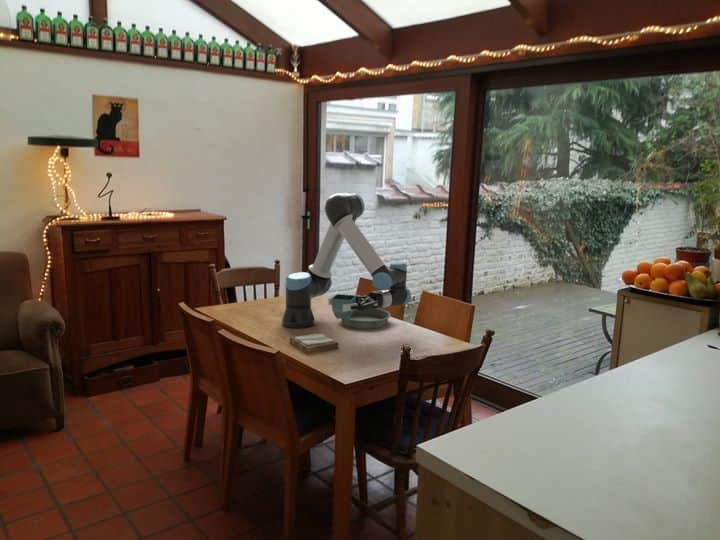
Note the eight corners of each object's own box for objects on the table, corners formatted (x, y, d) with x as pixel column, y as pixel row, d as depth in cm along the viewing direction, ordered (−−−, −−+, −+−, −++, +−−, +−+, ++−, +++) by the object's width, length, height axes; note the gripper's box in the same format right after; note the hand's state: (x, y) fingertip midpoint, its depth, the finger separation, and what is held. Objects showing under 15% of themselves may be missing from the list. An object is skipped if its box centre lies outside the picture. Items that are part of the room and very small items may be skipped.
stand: (290, 343, 247) (290, 336, 247) (319, 338, 255) (319, 331, 254) (307, 353, 234) (307, 346, 234) (338, 348, 242) (338, 341, 241)
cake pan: (345, 331, 266) (345, 321, 266) (333, 317, 290) (333, 308, 289) (397, 328, 273) (397, 319, 272) (381, 314, 296) (381, 305, 295)
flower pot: (330, 319, 247) (330, 298, 245) (336, 314, 255) (336, 293, 253) (350, 321, 245) (351, 300, 243) (356, 316, 253) (356, 295, 251)
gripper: (394, 314, 250) (350, 320, 238) (364, 301, 269) (321, 306, 257) (395, 297, 248) (351, 302, 236) (364, 285, 268) (322, 290, 256)
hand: (335, 304), depth 247 cm, fingers closed on flower pot, 11 cm apart
